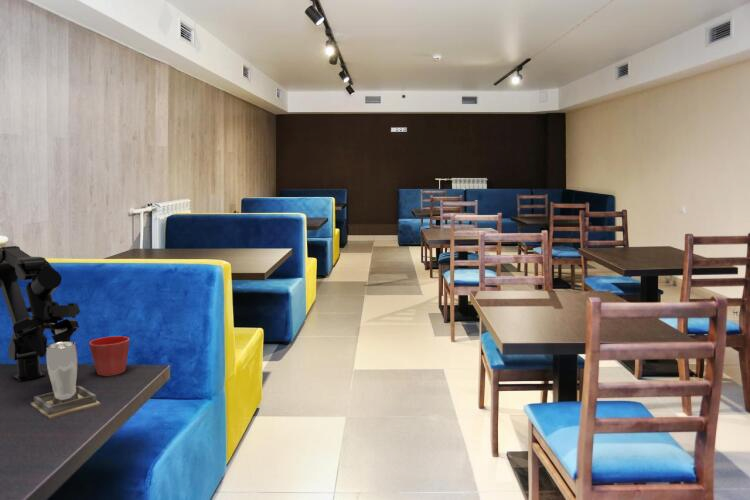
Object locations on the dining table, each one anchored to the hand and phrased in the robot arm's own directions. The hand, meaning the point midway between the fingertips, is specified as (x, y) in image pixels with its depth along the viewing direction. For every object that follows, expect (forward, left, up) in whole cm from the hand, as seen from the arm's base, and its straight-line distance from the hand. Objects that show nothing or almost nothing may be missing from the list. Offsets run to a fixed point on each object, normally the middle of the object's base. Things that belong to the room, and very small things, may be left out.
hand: (54, 356), depth 159 cm
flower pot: (-8, +17, -10) cm, 22 cm away
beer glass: (+10, -1, -10) cm, 14 cm away
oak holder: (+10, -2, -10) cm, 15 cm away
